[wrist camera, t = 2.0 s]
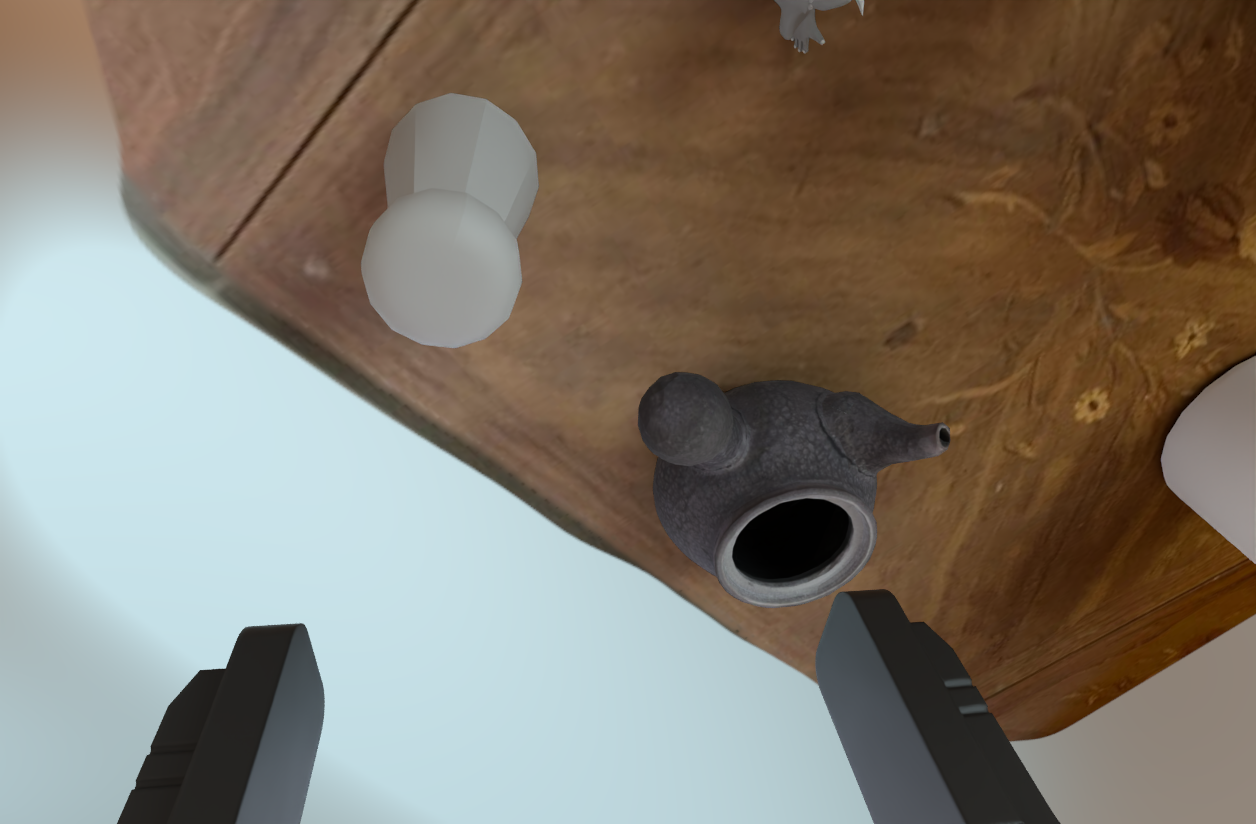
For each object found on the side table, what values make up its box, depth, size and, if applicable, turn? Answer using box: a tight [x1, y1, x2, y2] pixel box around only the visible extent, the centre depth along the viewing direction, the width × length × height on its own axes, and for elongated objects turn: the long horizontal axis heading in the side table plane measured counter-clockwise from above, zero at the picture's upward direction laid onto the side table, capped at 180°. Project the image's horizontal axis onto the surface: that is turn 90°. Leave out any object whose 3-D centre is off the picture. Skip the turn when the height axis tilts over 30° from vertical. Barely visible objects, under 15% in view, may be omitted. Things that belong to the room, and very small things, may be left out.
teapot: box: [638, 372, 950, 608], centre depth 35 cm, size 19×15×10 cm
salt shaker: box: [361, 93, 539, 348], centre depth 24 cm, size 6×6×13 cm
